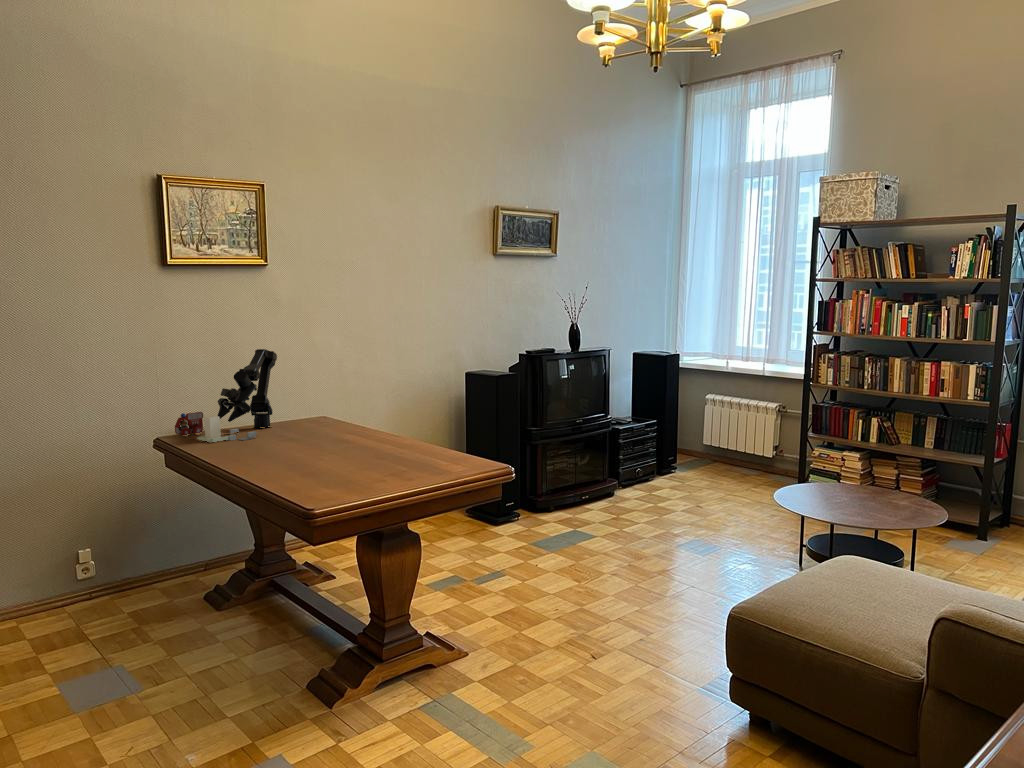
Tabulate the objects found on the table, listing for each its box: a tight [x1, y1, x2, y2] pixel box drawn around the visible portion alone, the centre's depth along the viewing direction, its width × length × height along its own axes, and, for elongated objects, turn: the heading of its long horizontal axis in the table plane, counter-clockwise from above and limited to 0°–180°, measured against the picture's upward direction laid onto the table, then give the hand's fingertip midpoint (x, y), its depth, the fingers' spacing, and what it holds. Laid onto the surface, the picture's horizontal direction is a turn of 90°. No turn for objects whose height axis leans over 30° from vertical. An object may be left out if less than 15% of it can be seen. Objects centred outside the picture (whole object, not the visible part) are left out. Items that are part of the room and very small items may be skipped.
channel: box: [227, 428, 257, 442], centre depth 335 cm, size 13×25×2 cm, turn 52°
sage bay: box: [196, 435, 230, 444], centre depth 328 cm, size 9×11×2 cm
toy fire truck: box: [174, 411, 204, 436], centre depth 342 cm, size 7×12×10 cm, turn 129°
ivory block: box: [203, 415, 222, 439], centre depth 327 cm, size 5×5×10 cm
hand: (222, 420), depth 331 cm, fingers open, 9 cm apart
